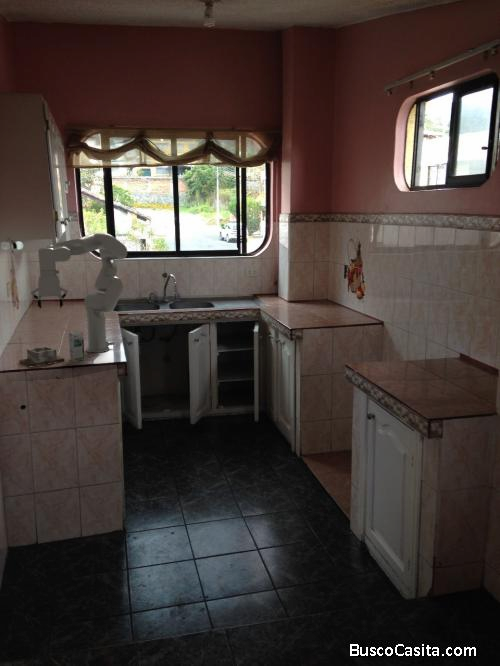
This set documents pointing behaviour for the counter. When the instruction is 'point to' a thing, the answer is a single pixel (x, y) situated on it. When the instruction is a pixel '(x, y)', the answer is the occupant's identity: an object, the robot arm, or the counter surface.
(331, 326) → the counter surface
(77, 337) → the syrup box
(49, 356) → the collar stand
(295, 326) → the counter surface
